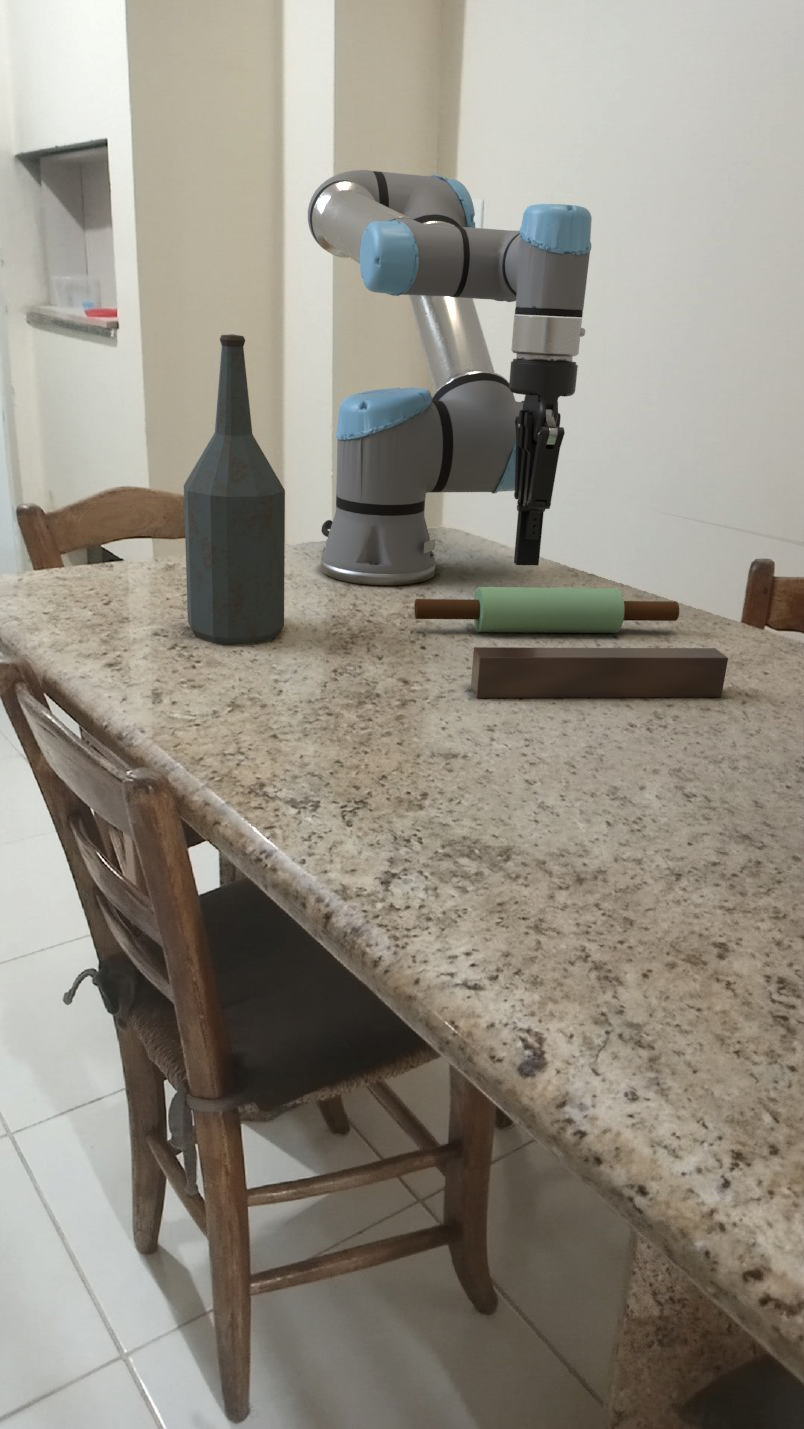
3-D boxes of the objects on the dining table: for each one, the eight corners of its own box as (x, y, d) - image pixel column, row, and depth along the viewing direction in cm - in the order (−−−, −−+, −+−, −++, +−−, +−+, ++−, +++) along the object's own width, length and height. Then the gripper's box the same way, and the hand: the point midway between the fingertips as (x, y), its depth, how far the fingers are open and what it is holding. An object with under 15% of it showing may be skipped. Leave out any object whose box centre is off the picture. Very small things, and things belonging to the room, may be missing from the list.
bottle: (302, 631, 111) (306, 337, 100) (238, 652, 104) (234, 337, 92) (234, 612, 116) (230, 331, 105) (168, 630, 109) (157, 330, 98)
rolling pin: (411, 618, 116) (417, 639, 112) (414, 578, 113) (420, 598, 109) (663, 620, 120) (678, 641, 116) (672, 581, 117) (688, 601, 113)
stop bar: (476, 698, 95) (480, 657, 93) (470, 686, 98) (473, 647, 96) (721, 697, 98) (728, 658, 97) (708, 686, 101) (715, 647, 99)
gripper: (594, 362, 110) (571, 577, 118) (561, 356, 122) (542, 552, 130) (526, 359, 109) (508, 576, 117) (499, 354, 121) (484, 551, 129)
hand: (526, 563), depth 124 cm, fingers closed
